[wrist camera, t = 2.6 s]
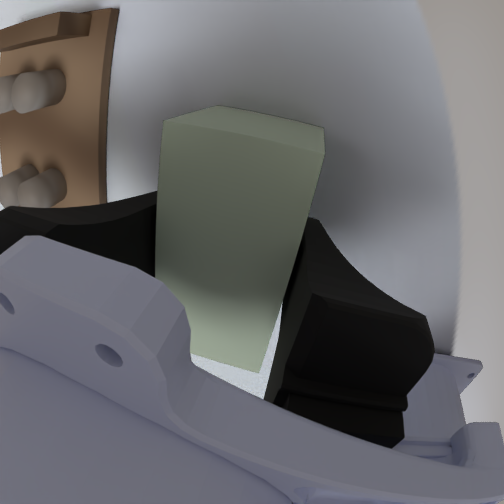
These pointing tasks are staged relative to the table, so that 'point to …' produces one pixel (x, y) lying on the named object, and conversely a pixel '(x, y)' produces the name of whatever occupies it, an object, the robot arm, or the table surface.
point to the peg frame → (55, 109)
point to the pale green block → (233, 223)
